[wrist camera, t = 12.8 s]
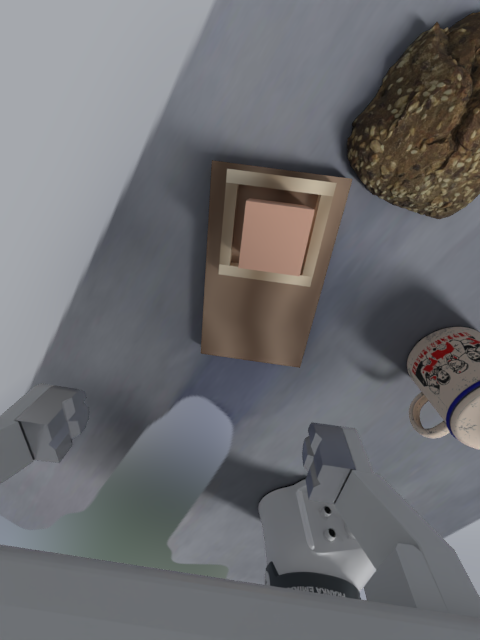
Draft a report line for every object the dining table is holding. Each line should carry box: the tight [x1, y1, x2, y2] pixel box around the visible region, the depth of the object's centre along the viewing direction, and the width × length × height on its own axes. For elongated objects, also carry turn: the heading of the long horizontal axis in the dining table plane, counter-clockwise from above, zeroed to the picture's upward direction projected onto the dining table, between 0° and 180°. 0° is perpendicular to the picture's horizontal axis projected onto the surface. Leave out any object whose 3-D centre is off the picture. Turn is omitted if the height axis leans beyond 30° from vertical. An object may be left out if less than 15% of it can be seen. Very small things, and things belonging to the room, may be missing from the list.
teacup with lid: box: [407, 327, 480, 450], centre depth 26 cm, size 12×9×12 cm
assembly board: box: [201, 160, 352, 368], centre depth 27 cm, size 12×20×3 cm, turn 173°
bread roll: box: [347, 12, 480, 219], centre depth 19 cm, size 13×12×5 cm
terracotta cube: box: [238, 198, 315, 276], centre depth 22 cm, size 5×5×5 cm
